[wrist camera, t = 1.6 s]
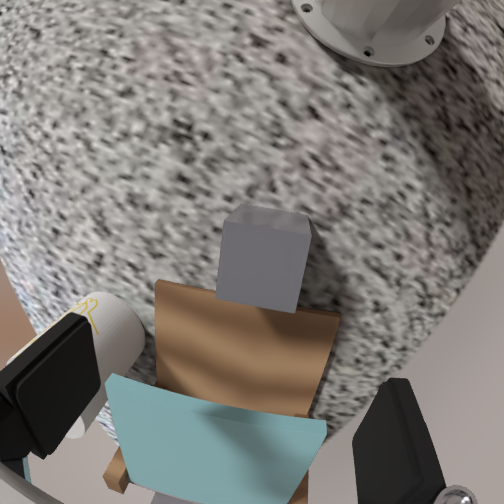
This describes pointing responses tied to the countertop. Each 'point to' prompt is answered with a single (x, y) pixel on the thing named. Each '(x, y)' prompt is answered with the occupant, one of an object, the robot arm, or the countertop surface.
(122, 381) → the trapdoor
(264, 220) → the grey block
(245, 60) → the countertop surface
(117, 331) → the cup
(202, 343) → the frame
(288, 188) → the countertop surface
